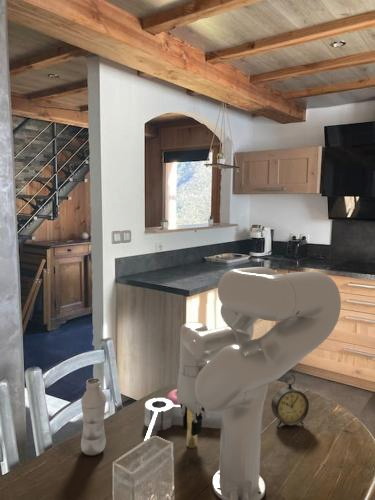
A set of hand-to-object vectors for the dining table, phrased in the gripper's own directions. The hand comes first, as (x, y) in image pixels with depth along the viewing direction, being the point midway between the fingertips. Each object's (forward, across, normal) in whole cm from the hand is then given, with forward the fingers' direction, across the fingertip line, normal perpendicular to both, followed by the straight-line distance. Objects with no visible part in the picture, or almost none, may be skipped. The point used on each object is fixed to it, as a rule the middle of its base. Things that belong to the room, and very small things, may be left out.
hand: (192, 430), depth 115 cm
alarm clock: (+5, -10, -31) cm, 33 cm away
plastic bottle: (+4, +14, +23) cm, 27 cm away
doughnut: (+4, +20, -13) cm, 24 cm away
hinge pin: (+4, 0, 0) cm, 4 cm away
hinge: (+4, +4, +1) cm, 6 cm away
